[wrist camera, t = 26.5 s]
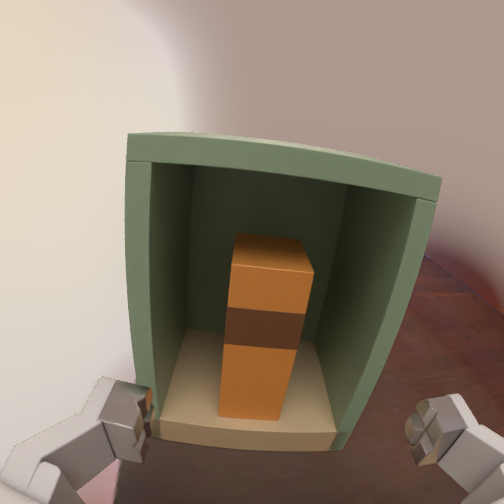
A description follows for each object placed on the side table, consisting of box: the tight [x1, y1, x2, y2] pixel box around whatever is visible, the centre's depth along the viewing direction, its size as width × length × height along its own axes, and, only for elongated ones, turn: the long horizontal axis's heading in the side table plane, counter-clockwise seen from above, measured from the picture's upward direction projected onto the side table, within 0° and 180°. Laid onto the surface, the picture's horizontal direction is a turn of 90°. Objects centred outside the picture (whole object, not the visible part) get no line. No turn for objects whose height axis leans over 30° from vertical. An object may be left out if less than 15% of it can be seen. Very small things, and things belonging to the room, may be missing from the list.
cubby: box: [125, 132, 442, 452], centre depth 21 cm, size 12×14×19 cm
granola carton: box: [218, 232, 314, 421], centre depth 19 cm, size 5×4×11 cm
